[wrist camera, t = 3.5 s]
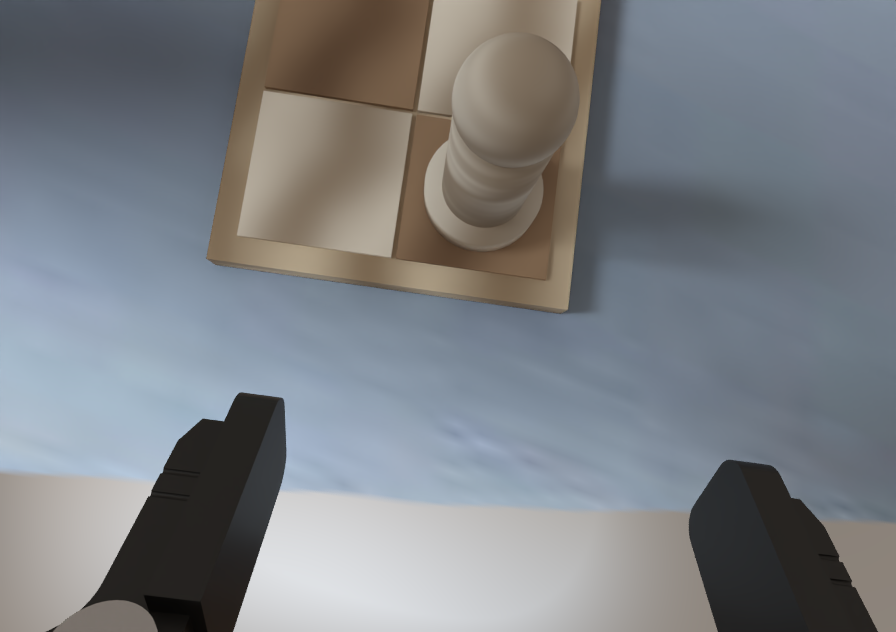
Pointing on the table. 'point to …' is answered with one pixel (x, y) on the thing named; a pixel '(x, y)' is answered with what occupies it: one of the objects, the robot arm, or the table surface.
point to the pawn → (500, 140)
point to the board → (386, 148)
